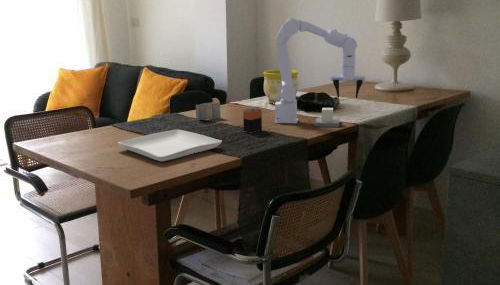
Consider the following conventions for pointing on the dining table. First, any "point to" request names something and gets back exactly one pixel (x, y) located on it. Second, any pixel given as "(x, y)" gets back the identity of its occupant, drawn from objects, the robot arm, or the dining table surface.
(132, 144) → the square plate
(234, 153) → the dining table surface
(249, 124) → the battery
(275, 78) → the flowerpot
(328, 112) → the block
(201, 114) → the ruin model on sheet
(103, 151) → the dining table surface
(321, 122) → the trivet
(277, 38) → the robot arm
